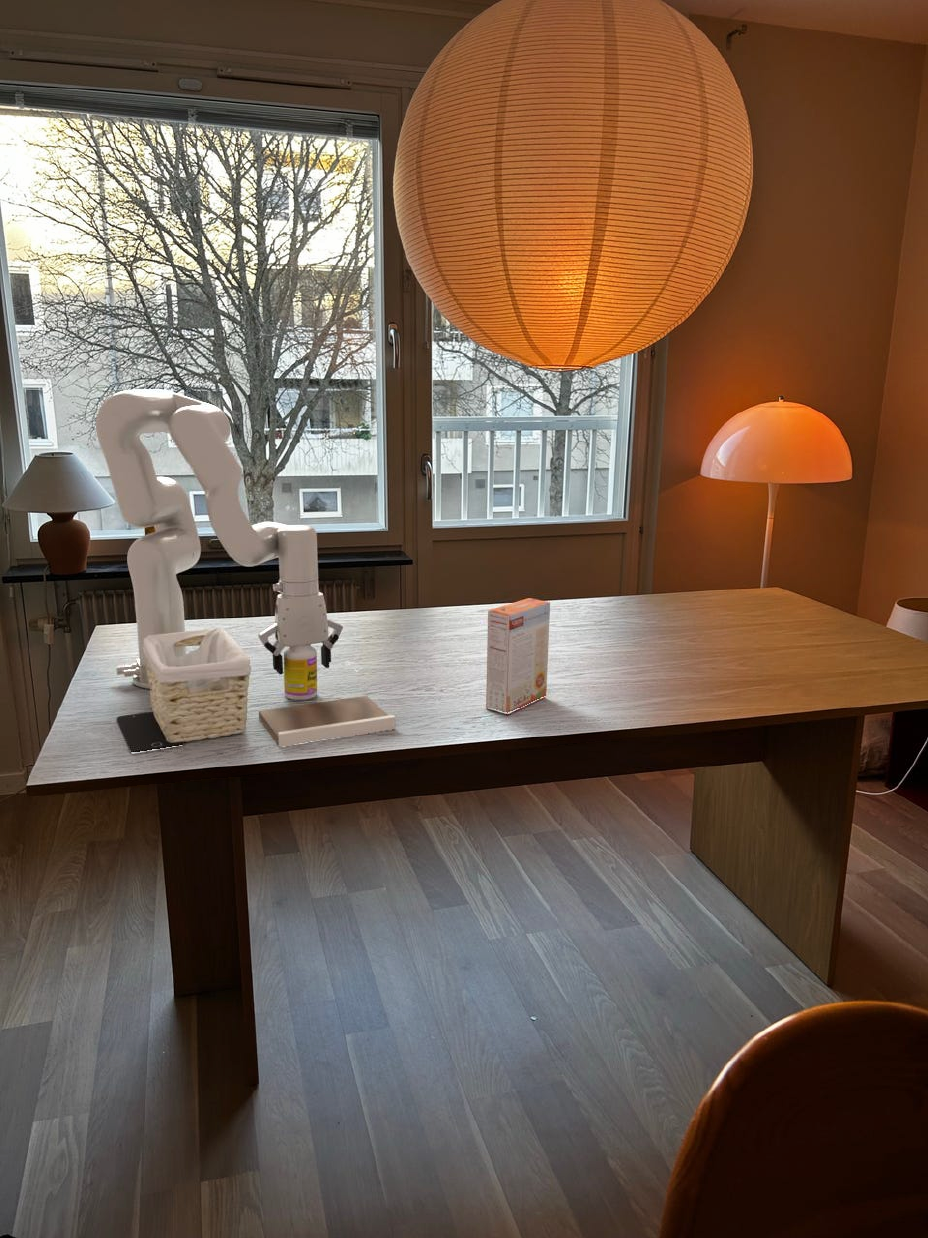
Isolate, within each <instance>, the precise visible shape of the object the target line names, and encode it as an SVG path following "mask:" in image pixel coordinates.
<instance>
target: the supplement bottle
mask: <svg viewBox="0 0 928 1238" xmlns="http://www.w3.org/2000/svg"><path fill="white" fill-rule="evenodd" d="M317 655H318V652H317V650H316V648H315V647H314V646H312V644H308V645H300V646H291V647H286V648H284V651H283V677H284V679H283V681H284V682H283V683H284V685H283V687H284V689H283V690H284V695H285V697H286V698H287V699H289V700H293V701H306V700H307V701H308V700H311V699H314V698H315V697H316V696H317V694H318V659H317V658H318V656H317Z"/></svg>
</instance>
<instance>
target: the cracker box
mask: <svg viewBox="0 0 928 1238" xmlns="http://www.w3.org/2000/svg"><path fill="white" fill-rule="evenodd" d="M550 613H551V602H550V601H546V600H540V599H536V598H531V597H530V598H529V597H528V598H524V599H521V600H518V601H515V602H512V603H507V604H506V605H502V606H499V607H496V608H492V609H489V610H488V611H487V616H488V617H487V647H486V648H487V649H486V650H487V651H486V655H487V656H486V661H487V662H486V692H485V693H486V696H485V697H486V699H485V709H486V708H492V709H496V710H499V711H502V712H507V713H508V712H510V711H513V710H515V709H517V708H521V707H523V706H525V705H527V704H529V703H531V702H533V701H535V700H537V699H540V698H541V697H544V696H546V697H547V687H548V684H547V683H548V663H549V644H550V643H549V642H550V641H549V640H550V639H549V638H550V620H551V619H550V618H551V617H550V616H551V614H550Z"/></svg>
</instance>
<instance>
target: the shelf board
mask: <svg viewBox="0 0 928 1238" xmlns="http://www.w3.org/2000/svg"><path fill="white" fill-rule="evenodd" d="M388 715H389V714H388V713H386V712H385V711H384V710H383V709H382V708H381V707H380V706H378V705H377V704H376V702H375V701H373V700H372V699H371V698H370V697H369V695H362V696H355V697H349V698H342V699H335V700H327V701H320V702H319V701H318V702H313V703H307V704H297V705H293V706H292V705H291V706H284V707H277V708H271V709H263V710H258V719H259V720H260V722H261V723H262V724H263V726H264V727H265V728H266V730H267V732H269V734H270V735H271V736H272V738H273V740H274V741H275V740H276V741H277V742H276V741H275V742H276V744H277V743H278V744H279V737H278V732H284V731H290V730H297V729H303V728H310V727H316V726H323V725H329V724H336V723H342V722H349V721H356V720H362V719H369V718H375V717H382V716H388ZM278 744H277V745H278Z"/></svg>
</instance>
